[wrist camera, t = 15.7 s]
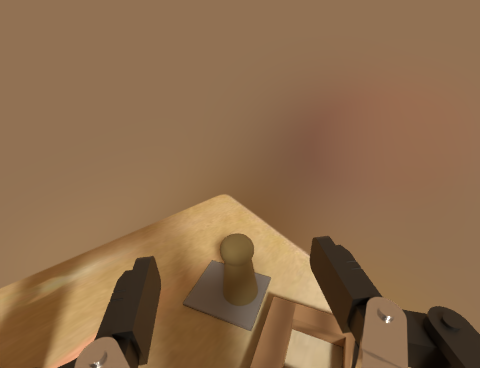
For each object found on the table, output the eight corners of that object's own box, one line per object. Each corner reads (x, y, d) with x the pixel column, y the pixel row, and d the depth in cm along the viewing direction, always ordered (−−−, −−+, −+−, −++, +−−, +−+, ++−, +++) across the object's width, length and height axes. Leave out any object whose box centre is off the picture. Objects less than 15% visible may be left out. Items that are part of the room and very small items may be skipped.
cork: (234, 271, 45) (230, 223, 40) (263, 283, 42) (263, 234, 37) (215, 296, 40) (208, 246, 35) (247, 312, 38) (243, 261, 32)
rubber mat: (183, 304, 40) (182, 303, 40) (212, 261, 48) (212, 260, 48) (251, 331, 35) (251, 329, 35) (270, 278, 43) (270, 277, 43)
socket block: (246, 391, 29) (245, 381, 28) (273, 306, 39) (273, 296, 38) (376, 456, 24) (382, 447, 23) (371, 339, 34) (374, 328, 32)
